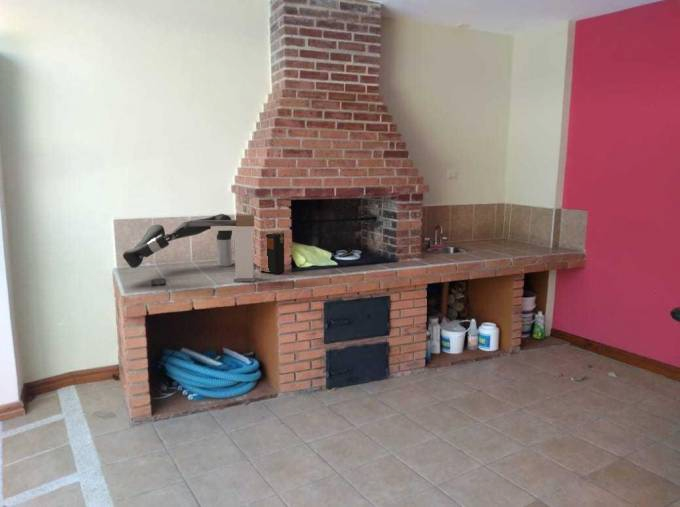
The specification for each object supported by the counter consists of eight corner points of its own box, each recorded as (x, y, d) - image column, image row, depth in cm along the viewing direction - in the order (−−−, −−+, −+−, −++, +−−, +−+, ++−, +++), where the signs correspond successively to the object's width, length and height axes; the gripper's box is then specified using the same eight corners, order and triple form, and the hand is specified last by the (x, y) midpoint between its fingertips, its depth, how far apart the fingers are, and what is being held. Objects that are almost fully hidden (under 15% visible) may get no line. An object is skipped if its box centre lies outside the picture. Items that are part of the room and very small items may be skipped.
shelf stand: (213, 278, 319) (212, 224, 312) (255, 277, 322) (254, 224, 316) (212, 282, 309) (210, 227, 303) (255, 281, 312) (254, 226, 306)
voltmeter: (286, 272, 336) (285, 232, 331) (277, 275, 329) (277, 234, 324) (266, 269, 344) (265, 230, 339) (257, 272, 336) (256, 232, 331)
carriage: (190, 225, 309) (189, 214, 308) (254, 224, 314) (254, 214, 313) (188, 226, 302) (188, 216, 301) (254, 226, 308) (253, 215, 306)
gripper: (163, 247, 312) (188, 233, 313) (160, 251, 298) (186, 236, 300) (156, 236, 310) (181, 222, 312) (152, 239, 297) (178, 224, 298)
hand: (183, 228), depth 306 cm, fingers open, 8 cm apart
